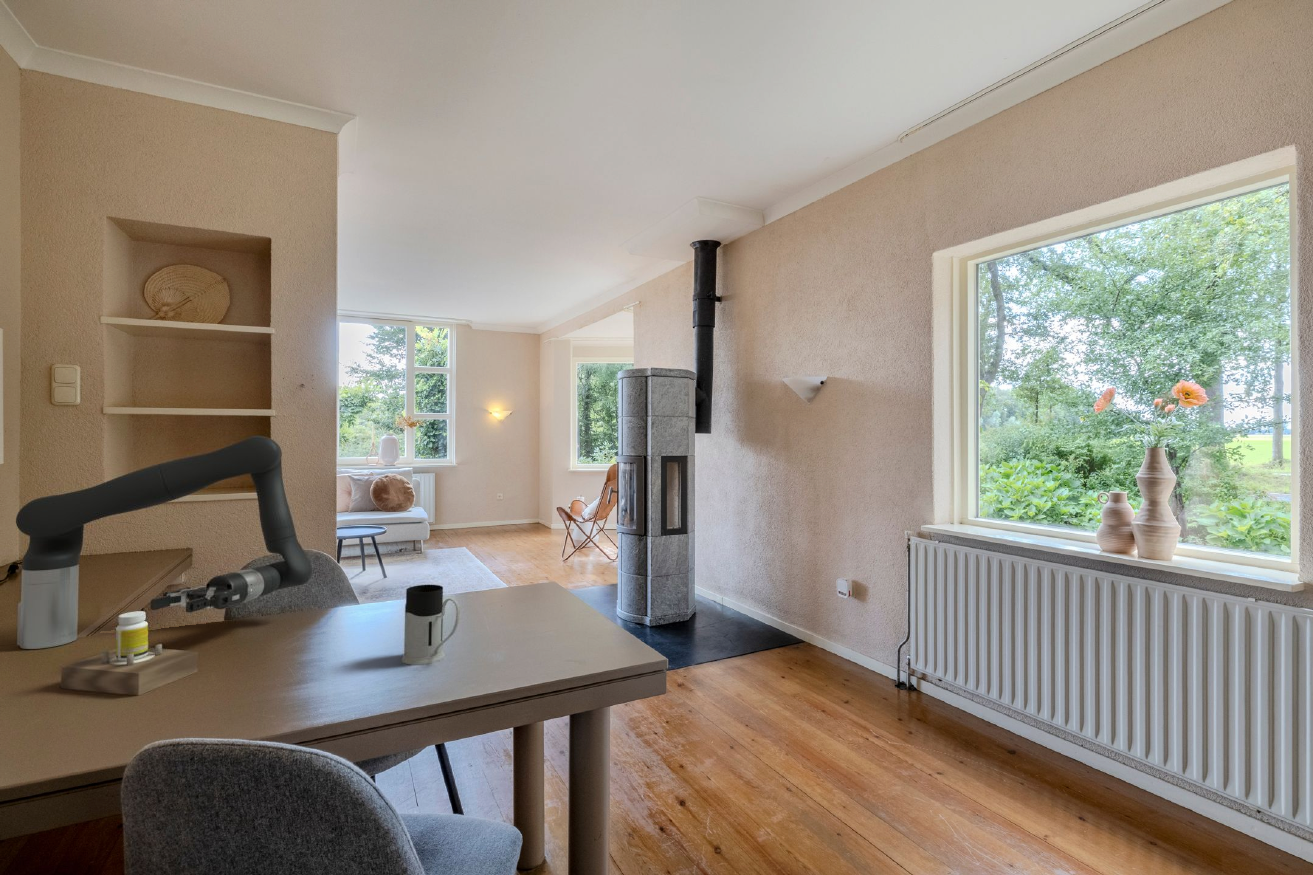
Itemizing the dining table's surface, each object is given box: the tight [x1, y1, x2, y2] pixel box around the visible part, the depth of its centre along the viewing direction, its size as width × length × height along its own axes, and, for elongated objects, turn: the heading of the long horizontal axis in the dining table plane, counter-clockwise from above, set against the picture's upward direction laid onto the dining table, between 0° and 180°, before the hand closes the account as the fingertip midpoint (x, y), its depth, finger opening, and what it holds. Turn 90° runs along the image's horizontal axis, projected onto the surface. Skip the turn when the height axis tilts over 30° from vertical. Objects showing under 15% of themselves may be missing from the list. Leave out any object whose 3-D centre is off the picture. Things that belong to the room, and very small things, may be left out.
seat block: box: [60, 643, 199, 697], centre depth 120 cm, size 17×12×6 cm
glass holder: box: [401, 584, 461, 666], centre depth 134 cm, size 9×14×15 cm, turn 64°
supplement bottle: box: [115, 610, 149, 661], centre depth 120 cm, size 5×5×8 cm
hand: (169, 606), depth 128 cm, fingers open, 8 cm apart
